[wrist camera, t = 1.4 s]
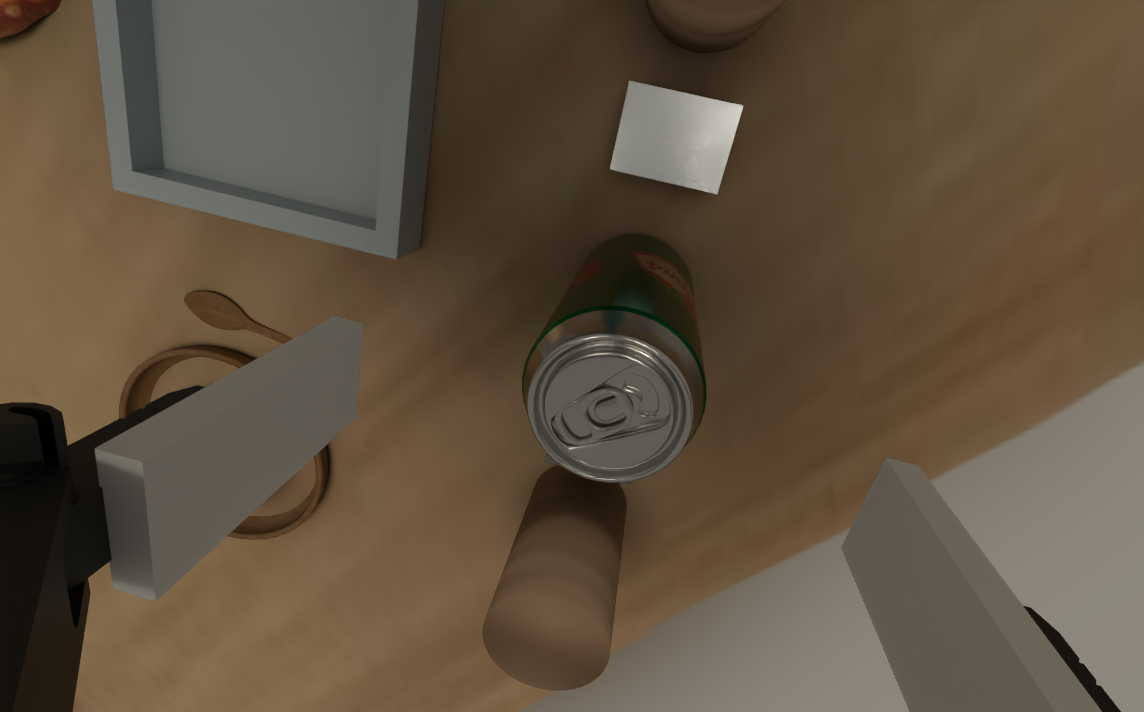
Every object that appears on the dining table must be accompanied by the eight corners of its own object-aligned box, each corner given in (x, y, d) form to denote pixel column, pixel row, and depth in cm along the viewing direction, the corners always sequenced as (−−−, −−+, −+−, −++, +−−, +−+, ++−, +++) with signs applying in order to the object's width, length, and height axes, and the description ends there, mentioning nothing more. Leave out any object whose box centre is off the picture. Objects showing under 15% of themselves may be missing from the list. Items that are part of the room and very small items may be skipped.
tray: (132, -158, 22) (71, -190, 20) (454, -92, 22) (428, -118, 19) (159, 183, 28) (113, 189, 25) (420, 247, 27) (396, 259, 24)
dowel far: (541, 451, 30) (492, 577, 22) (636, 476, 29) (623, 614, 21) (525, 527, 32) (474, 669, 24) (614, 551, 31) (593, 704, 23)
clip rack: (700, -208, 19) (705, -263, 16) (820, -186, 19) (845, -238, 16) (526, 564, 33) (513, 605, 30) (595, 583, 32) (588, 626, 30)
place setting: (303, 583, 37) (240, 662, 32) (14, 452, 37) (-100, 509, 31) (373, 356, 30) (307, 407, 25) (15, 191, 30) (-131, 206, 24)
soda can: (711, 313, 26) (742, 457, 15) (610, 359, 27) (570, 519, 16) (661, 210, 24) (654, 283, 13) (558, 264, 26) (476, 369, 15)
